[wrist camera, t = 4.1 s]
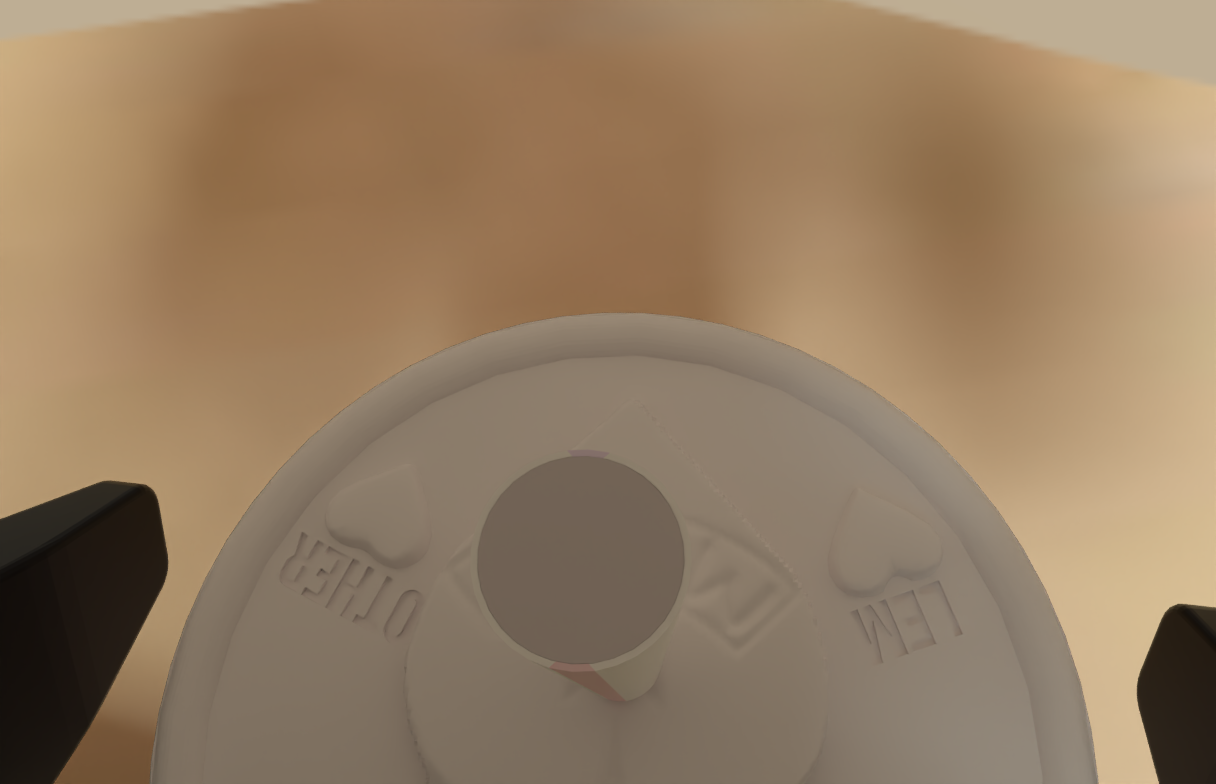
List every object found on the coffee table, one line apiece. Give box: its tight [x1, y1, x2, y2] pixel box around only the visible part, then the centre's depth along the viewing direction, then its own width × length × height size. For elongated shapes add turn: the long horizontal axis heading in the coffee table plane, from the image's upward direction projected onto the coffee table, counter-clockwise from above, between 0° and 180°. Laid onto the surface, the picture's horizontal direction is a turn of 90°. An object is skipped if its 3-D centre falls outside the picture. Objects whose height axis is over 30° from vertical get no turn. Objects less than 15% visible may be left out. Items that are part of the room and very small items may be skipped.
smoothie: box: [150, 313, 1098, 784], centre depth 9 cm, size 6×6×14 cm
